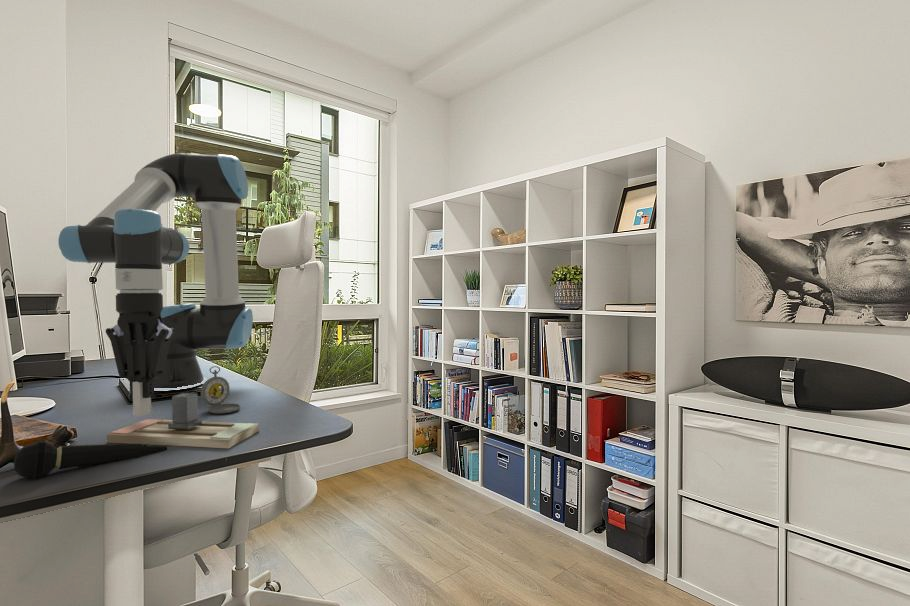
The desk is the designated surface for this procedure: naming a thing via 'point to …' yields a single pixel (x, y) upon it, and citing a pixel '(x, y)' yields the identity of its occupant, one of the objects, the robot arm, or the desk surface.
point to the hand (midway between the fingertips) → (142, 414)
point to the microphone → (73, 456)
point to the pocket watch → (217, 394)
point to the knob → (184, 412)
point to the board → (184, 434)
